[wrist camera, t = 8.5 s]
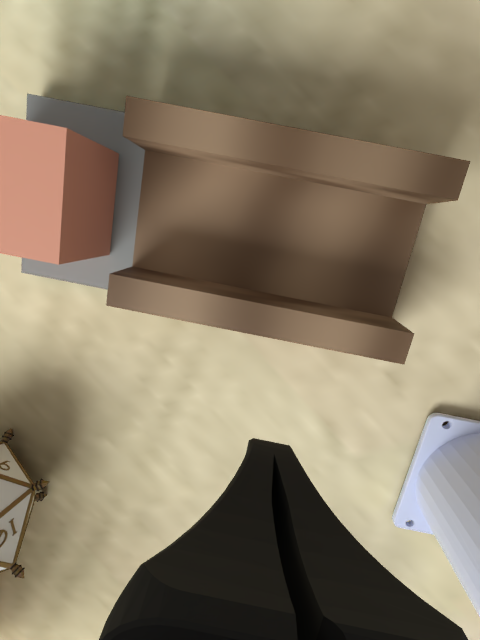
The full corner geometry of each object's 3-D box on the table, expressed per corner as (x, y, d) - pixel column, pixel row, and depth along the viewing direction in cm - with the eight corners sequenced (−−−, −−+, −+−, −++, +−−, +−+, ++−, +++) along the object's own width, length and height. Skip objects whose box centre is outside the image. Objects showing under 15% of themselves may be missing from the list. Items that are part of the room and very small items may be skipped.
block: (119, 153, 18) (66, 128, 13) (109, 254, 19) (58, 264, 15) (20, 134, 18) (-68, 101, 13) (17, 236, 19) (-64, 240, 15)
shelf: (154, 122, 19) (148, 116, 18) (135, 290, 21) (129, 293, 20) (39, 100, 19) (27, 93, 18) (32, 270, 21) (21, 272, 20)
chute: (427, 174, 19) (470, 161, 15) (377, 338, 21) (404, 364, 17) (154, 122, 19) (126, 95, 15) (135, 290, 21) (106, 305, 17)
